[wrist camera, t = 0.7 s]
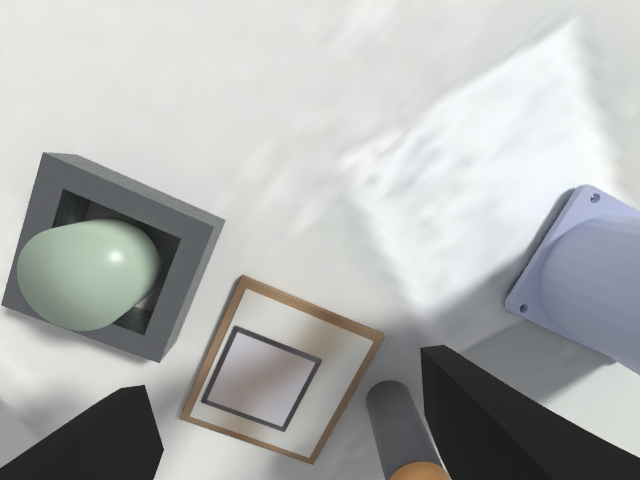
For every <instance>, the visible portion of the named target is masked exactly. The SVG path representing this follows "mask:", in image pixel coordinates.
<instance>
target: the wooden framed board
mask: <svg viewBox="0 0 640 480" xmlns="http://www.w3.org/2000/svg"><path fill="white" fill-rule="evenodd" d="M383 339H384V335H383V333H380V332H378V331H375V330H373V329H371V328H368V327H366V326H364V325H361V324H359V323H356V322H354V321H352V320H349V319H347V318H344V317H342V316H340V315H337V314H335V313H333V312H330V311H328V310H325V309H323V308H321V307H318V306H316V305H313V304H311V303H309V302H306V301H304V300H302V299H299V298H297V297H294V296H292V295H290V294H287V293H285V292H282V291H280V290H278V289H275V288H273V287H271V286H268V285H266V284H263V283H261V282H259V281H256V280H254V279H251V278H249V277H247V276H244V275H242V277H241V279H240V281H239V283H238V285H237V288H236V290H235V292H234V295H233V297H232V299H231V302H230V304H229V306H228V308H227V311H226V313H225V315H224V318H223V320H222V322H221V325H220V327H219V329H218V331H217V334H216V336H215V338H214V341H213V343H212V345H211V347H210V350H209V352H208V354H207V357H206V359H205V361H204V364H203V366H202V368H201V370H200V373H199V375H198V377H197V380H196V382H195V384H194V386H193V389H192V391H191V393H190V396H189V398H188V400H187V403H186V405H185V407H184V409H183V412H182V414H181V416H180V419H182V420H185V421H188V422H191V423H194V424H197V425H200V426H203V427H205V428H208V429H211V430H214V431H217V432H220V433H223V434H226V435H229V436H231V437H234V438H237V439H240V440H243V441H246V442H249V443H252V444H254V445H257V446H260V447H263V448H266V449H269V450H272V451H275V452H278V453H280V454H283V455H286V456H289V457H292V458H295V459H298V460H301V461H304V462H306V463H309V464H312V465H313V464H314V462H315V460H316V459H317V457H318V455H319V453H320V452H321V450H322V448H323V446H324V444H325V443H326V441H327V439H328V437H329V435H330V434H331V432H332V430H333V428H334V427H335V425H336V423H337V421H338V419H339V418H340V416H341V414H342V412H343V410H344V409H345V407H346V405H347V403H348V401H349V400H350V398H351V396H352V394H353V393H354V391H355V389H356V387H357V385H358V384H359V382H360V380H361V378H362V376H363V375H364V373H365V371H366V369H367V367H368V366H369V364H370V362H371V360H372V359H373V357H374V355H375V353H376V351H377V350H378V348H379V346H380V344H381V342H382V341H383Z"/></svg>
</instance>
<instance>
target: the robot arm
mask: <svg viewBox="0 0 640 480" xmlns="http://www.w3.org/2000/svg"><path fill="white" fill-rule="evenodd" d="M592 195H593V200H592V201H591V196H592ZM522 305H524V306H523V308H522V309H520V307H521V306H522ZM505 307H506V309H508V310H509V311H511V312H512V313H514V314H517V315H519V316H521V317H523V318H525V319H527V320H530V321H532V322H534V323H536V324H538V325H541V326H543V327H545V328H547V329H549V330H552V331H554V332H556V333H558V334H560V335H563V336H565V337H567V338H569V339H571V340H573V341H576V342H578V343H580V344H582V345H584V346H587V347H589V348H591V349H593V350H595V351H598V352H600V353H602V354H604V355H606V356H608V357H611V358H612V359H614V360H615V361H617V362H619V363H620V364H622V365H624V366H625V367H627V368H629V369H630V370H632V371H633V372H635V373H637V374H638V375H640V211H639V210H637V209H635V208H633V207H631V206H629V205H627V204H626V203H624V202H622V201H620V200H618V199H616V198H615V197H613V196H611V195H609V194H607V193H605V192H603V191H602V190H600V189H598V188H596V187H594V186H592V185H580V186H578V187H577V188H576V189H575V191H574V192H573V194H572V195H571V197H570V199H569V200H568V202H567V203H566V205H565V206H564V208H563V210H562V211H561V213H560V214H559V216H558V218H557V219H556V221H555V222H554V224H553V225H552V227H551V229H550V230H549V232H548V233H547V235H546V237H545V238H544V240H543V241H542V243H541V245H540V246H539V248H538V249H537V251H536V252H535V254H534V256H533V257H532V259H531V260H530V262H529V264H528V265H527V267H526V268H525V270H524V271H523V273H522V275H521V276H520V278H519V279H518V281H517V283H516V284H515V286H514V287H513V289H512V291H511V292H510V294H509V295H508V297H507V298H506V300H505ZM420 350H421V366H422V382H423V397H424V413H425V417H426V420H427V423H428V425H429V428H430V431H431V433H432V436H433V439H434V441H435V444H436V447H437V449H438V452H439V454H440V457H441V459H442V461H443V463H444V465H445V467H446V469H447V471H448V473H449V475H450V477H451V479H452V480H640V458H639V457H637V456H635V455H633V454H631V453H629V452H627V451H625V450H623V449H621V448H619V447H617V446H615V445H613V444H611V443H609V442H607V441H605V440H603V439H601V438H599V437H597V436H596V435H594V434H592V433H590V432H588V431H586V430H584V429H583V428H581V427H579V426H577V425H575V424H574V423H572V422H570V421H568V420H566V419H565V418H563V417H561V416H559V415H557V414H556V413H554V412H552V411H550V410H549V409H547V408H545V407H543V406H542V405H540V404H538V403H537V402H535V401H533V400H531V399H530V398H528V397H526V396H525V395H523V394H521V393H520V392H518V391H517V390H515V389H513V388H512V387H510V386H508V385H507V384H505V383H504V382H502V381H500V380H499V379H497V378H496V377H494V376H492V375H491V374H489V373H488V372H486V371H485V370H483V369H481V368H480V367H478V366H477V365H475V364H474V363H472V362H471V361H469V360H467V359H466V358H464V357H463V356H461V355H460V354H458V353H456V352H455V351H453V350H452V349H450V348H448V347H447V346H445V345H439V346H431V347H424V348H420ZM163 451H164V448H163V445H162V442H161V438H160V435H159V432H158V428H157V425H156V422H155V418H154V415H153V412H152V408H151V405H150V402H149V398H148V395H147V392H146V388H145V385H141V386H133V387H126V388H121V389H119V390H117V391H115V392H114V393H112V394H110V395H109V396H107V397H105V398H104V399H102V400H101V401H99V402H98V403H96V404H94V405H93V406H91V407H90V408H88V409H87V410H85V411H84V412H82V413H81V414H79V415H78V416H76V417H75V418H74V419H72V420H71V421H69V422H68V423H66V424H65V425H63V426H62V427H60V428H59V429H57V430H56V431H54V432H53V433H52V434H50V435H49V436H47V437H46V438H44V439H43V440H41V441H40V442H38V443H37V444H36V445H34V446H33V447H31V448H30V449H28V450H27V451H25V452H24V453H22V454H21V455H19V456H18V457H16V458H15V459H13V460H12V461H11V462H9V463H8V464H6V465H4V466H3V467H2V468H0V480H153V479H154V476H155V474H156V471H157V468H158V465H159V462H160V459H161V457H162V454H163Z"/></svg>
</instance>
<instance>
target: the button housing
mask: <svg viewBox="0 0 640 480" xmlns="http://www.w3.org/2000/svg"><path fill="white" fill-rule="evenodd" d="M89 200H91V201H93V202H96V203H98V204H100V205H103V206H105V207H108V208H110V209H112V210H115V211H117V212H119V213H122V214H124V215H126V216H129V217H131V218H133V219H136V220H138V221H141V222H143V223H145V224H148V225H150V226H152V227H155V228H157V229H159V230H162V231H164V232H166V233H169V234H171V235H174V236H176V237H178V238H181V241H180V244H179V246H178V249H177V251H176V254H175V257H174V259H173V262H172V264H171V267H170V270H169V272H168V275H167V278H166V280H165V283H164V285H163V288H162V291H161V293H160V296H159V298H158V301H157V304H156V306H155V309H154V311H153V314H152V313H150V312H147V311H144V310H142V309H139V308H137V307H132V308H131V309H130V310H128V311H127V312H126V313H124V314H123V315H122V316H120V317H119V318H118V319H116V320H115V321H114V322H112V323H111V324H109V325H107V326H105V327H103V328H100V329H96V330H90V331H75V330H70V329H67V330H70V331H73V332H76V333H78V334H81V335H84V336H86V337H89V338H92V339H95V340H97V341H100V342H103V343H105V344H108V345H111V346H114V347H116V348H119V349H122V350H125V351H127V352H130V353H133V354H135V355H138V356H141V357H144V358H146V359H149V360H152V361H155V362H157V363H160V362H161V360H162V359H163V358H164V356H165V355H166V354H167V353H168V351H169V350H170V349H171V348H172V346H173V345H174V344H175V342H176V340H177V338H178V335H179V333H180V330H181V328H182V325H183V323H184V321H185V318H186V316H187V313H188V311H189V308H190V306H191V303H192V301H193V299H194V296H195V294H196V291H197V289H198V286H199V284H200V281H201V279H202V276H203V274H204V272H205V269H206V267H207V264H208V262H209V259H210V257H211V254H212V252H213V250H214V247H215V245H216V242H217V240H218V237H219V235H220V232H221V230H222V228H223V225H224V223H225V220H224V219H222V218H219V217H217V216H215V215H212V214H210V213H208V212H206V211H203V210H201V209H199V208H197V207H194V206H192V205H190V204H187V203H185V202H183V201H181V200H178V199H176V198H174V197H172V196H169V195H167V194H165V193H162V192H160V191H158V190H156V189H153V188H151V187H149V186H147V185H144V184H142V183H140V182H137V181H135V180H133V179H131V178H128V177H126V176H124V175H122V174H119V173H117V172H115V171H112V170H110V169H108V168H106V167H103V166H101V165H99V164H97V163H94V162H92V161H90V160H87V159H85V158H83V157H81V156H78V155H73V154H60V153H47V152H43V154H42V158H41V161H40V165H39V169H38V172H37V176H36V180H35V183H34V187H33V191H32V194H31V198H30V201H29V205H28V209H27V212H26V216H25V220H24V223H23V227H22V231H21V234H20V238H19V242H18V245H17V249H16V253H15V256H14V260H13V264H12V267H11V271H10V275H9V278H8V282H7V286H6V289H5V293H4V297H3V300H2V304H1V305H2V306H5V307H7V308H10V309H13V310H16V311H18V312H21V313H24V314H26V315H29V316H32V317H35V318H37V319H40V320H43V321H46V322H48V323H51V322H49V321H47V320H46V319H44V318H43V317H41V316H40V315H39V314H38V313H37V312H35V311H34V310H33V308H32V307H31V306H30V305H29V304H28V302H27V301H26V299H25V298H24V296H23V294H22V292H21V290H20V287H19V284H18V280H17V263H18V258H19V256H20V253H21V251H22V249H23V248H24V246H25V245H26V244H27V242H28V241H29V240H31V239H32V238H33V237H34V236H36V235H37V234H39V233H41V232H43V231H45V230H48V229H52V228H56V227H61V226H65V225H70V224H75V223H79V222H83V219H84V216H85V213H86V209H87V206H88V203H89ZM51 324H52V323H51ZM54 325H55V324H54ZM56 326H57V325H56Z"/></svg>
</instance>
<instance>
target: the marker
mask: <svg viewBox="0 0 640 480" xmlns="http://www.w3.org/2000/svg"><path fill="white" fill-rule="evenodd" d="M366 403H367V408H368V412H369V416H370V420H371V424H372V428H373V432H374V436H375V440H376V444H377V448H378V452H379V456H380V460H381V464H382V468H383V472H384V476H385V480H451V479H450V476H449V474H448V473H447V472H446V470H445V469H444V468H443V466H442V464H441V462H440V460H439V457H438V455H437V453H436V451H435V449H434V446H433V444H432V442H431V440H430V438H429V435H428V433H427V431H426V429H425V427H424V424H423V422H422V420H421V418H420V416H419V413H418V411H417V409H416V407H415V405H414V402H413V400H412V398H411V396H410V394H409V391H408V390H407V388H406V387H405V386H404V385H402V384H401V383H399V382H395V381H384V382H381V383H379V384H377V385H375V386H374V387H373V388H372V389H371V390H370V391H369V393H368V395H367V399H366Z"/></svg>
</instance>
